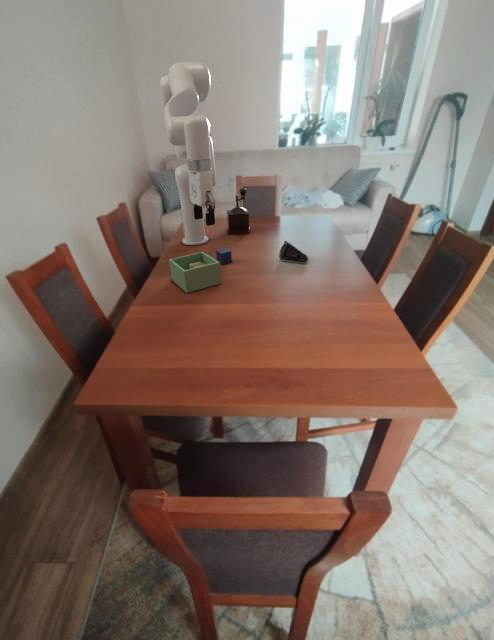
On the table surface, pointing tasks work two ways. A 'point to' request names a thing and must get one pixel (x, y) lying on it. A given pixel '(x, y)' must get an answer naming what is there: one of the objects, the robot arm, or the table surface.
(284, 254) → the chocolate cake
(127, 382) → the table surface
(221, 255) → the navy block
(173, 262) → the bin
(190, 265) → the birch block
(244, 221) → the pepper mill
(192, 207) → the robot arm
